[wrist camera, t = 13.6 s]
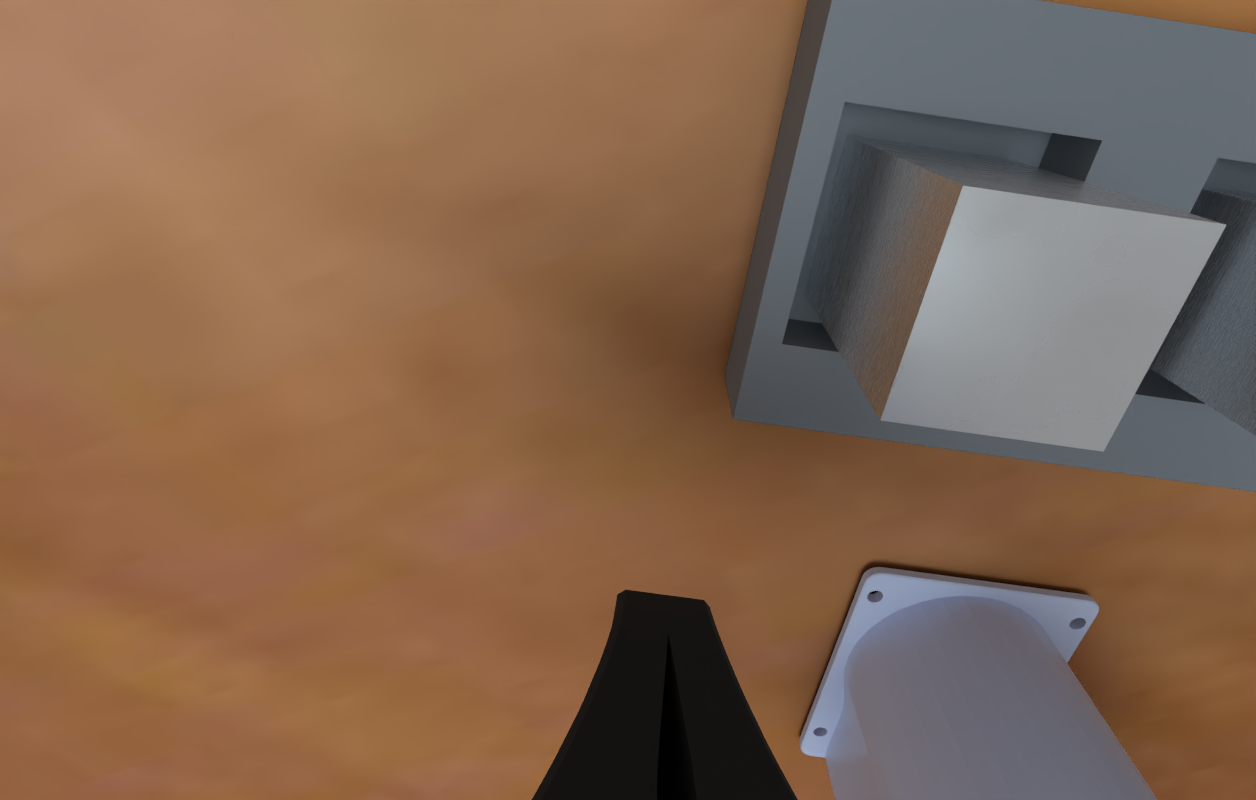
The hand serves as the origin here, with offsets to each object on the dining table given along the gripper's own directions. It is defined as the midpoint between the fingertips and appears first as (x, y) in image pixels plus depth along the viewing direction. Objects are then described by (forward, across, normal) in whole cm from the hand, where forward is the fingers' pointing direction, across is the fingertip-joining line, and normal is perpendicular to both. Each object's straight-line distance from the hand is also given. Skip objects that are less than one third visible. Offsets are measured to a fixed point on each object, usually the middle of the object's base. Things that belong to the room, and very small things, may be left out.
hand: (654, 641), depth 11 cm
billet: (+10, -6, -5) cm, 12 cm away
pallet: (+10, -10, -5) cm, 15 cm away
